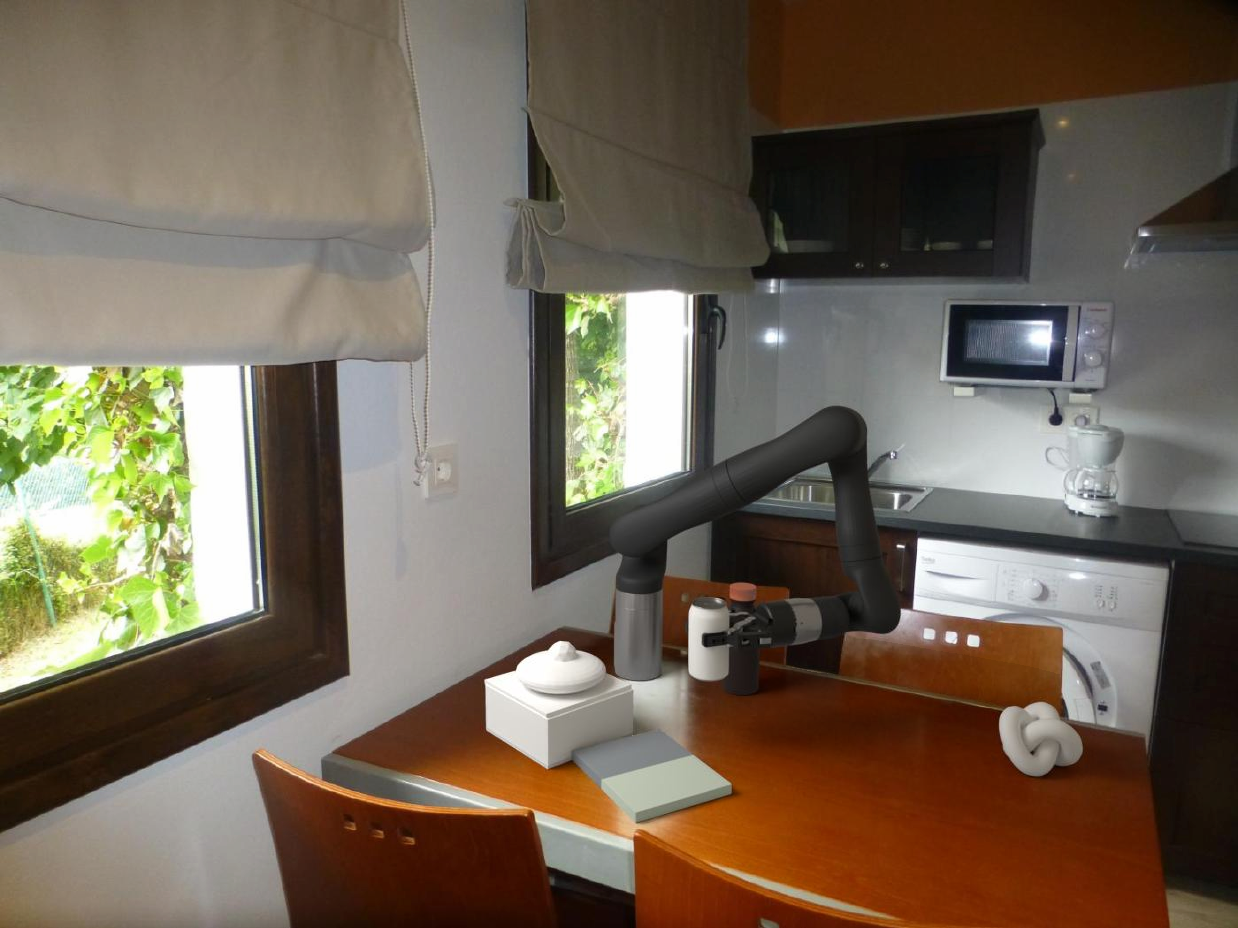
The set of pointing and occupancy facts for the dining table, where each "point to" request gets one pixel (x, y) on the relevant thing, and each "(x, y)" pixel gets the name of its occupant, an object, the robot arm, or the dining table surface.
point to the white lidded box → (558, 705)
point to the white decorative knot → (1038, 738)
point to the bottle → (742, 661)
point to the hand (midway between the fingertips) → (694, 633)
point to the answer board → (650, 774)
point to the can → (702, 619)
